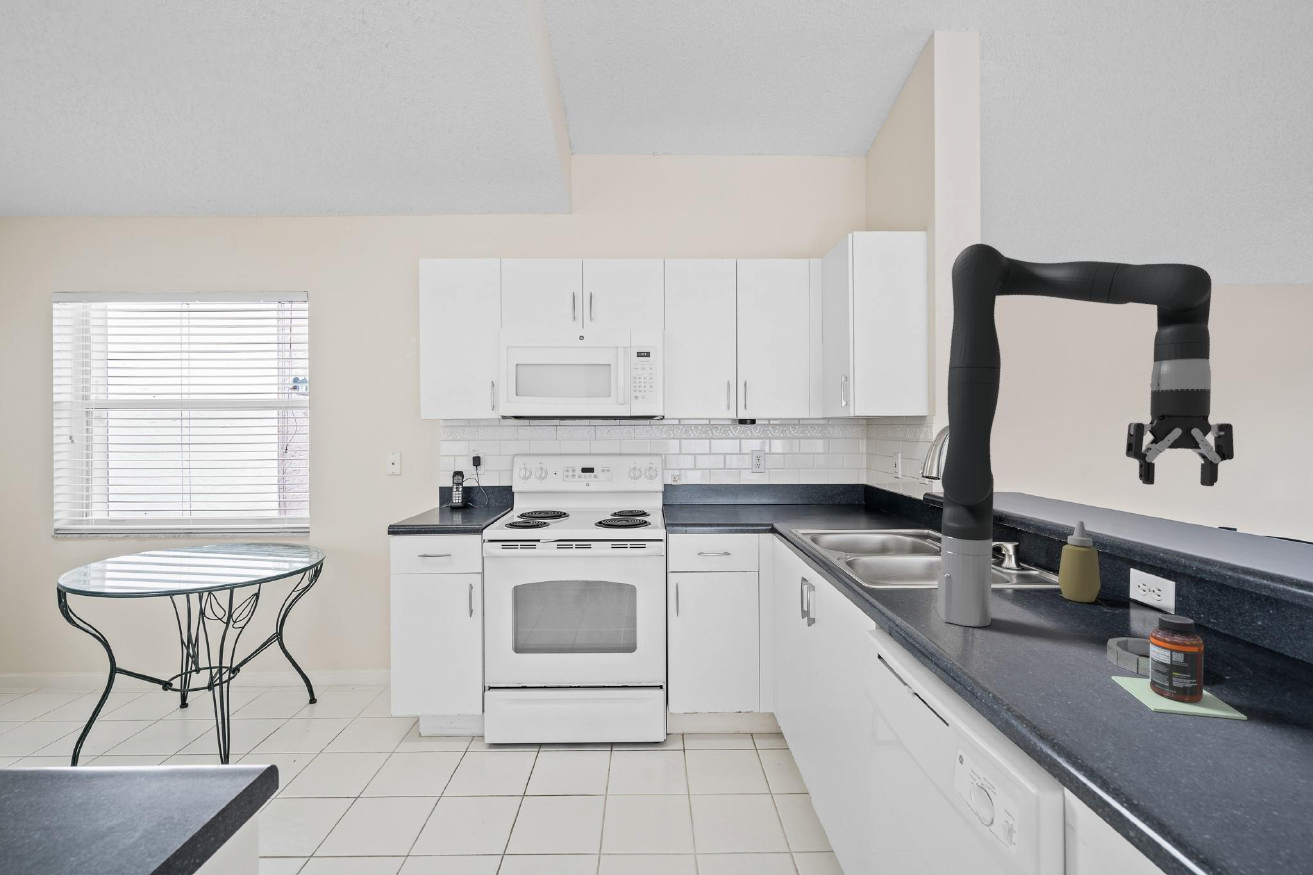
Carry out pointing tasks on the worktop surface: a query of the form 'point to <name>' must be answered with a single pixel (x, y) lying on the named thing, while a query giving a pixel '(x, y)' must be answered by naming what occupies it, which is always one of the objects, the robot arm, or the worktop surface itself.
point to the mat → (1162, 704)
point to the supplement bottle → (1176, 659)
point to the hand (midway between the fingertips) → (1177, 485)
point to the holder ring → (1130, 654)
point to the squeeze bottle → (1079, 567)
